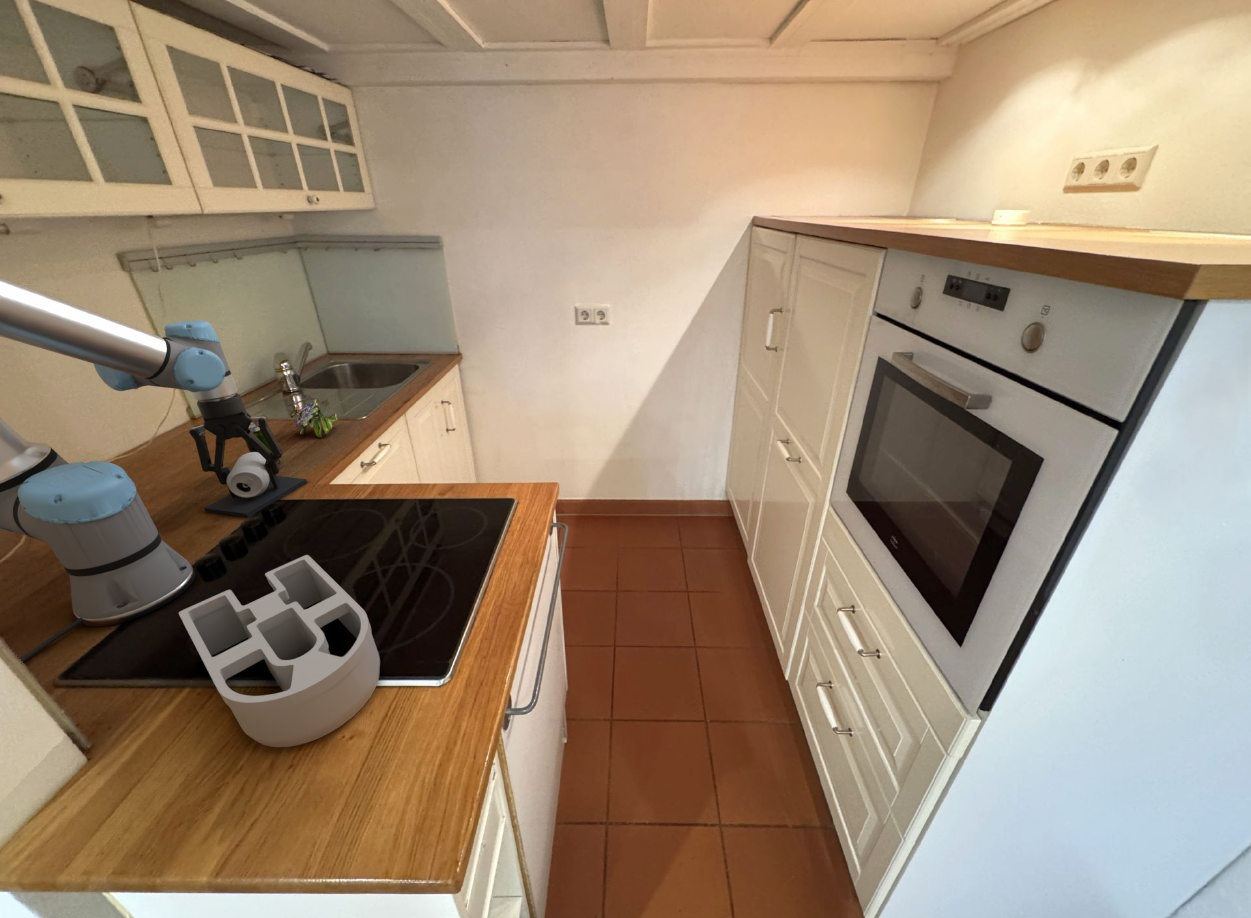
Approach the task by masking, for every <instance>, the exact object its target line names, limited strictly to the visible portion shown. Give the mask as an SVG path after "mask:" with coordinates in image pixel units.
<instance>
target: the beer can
mask: <svg viewBox="0 0 1251 918" xmlns="http://www.w3.org/2000/svg"><path fill="white" fill-rule="evenodd" d="M249 429H250V430H251V431H252V432H253V434H254V435H255V436H256V437H257V438H258V439H259V440H260V441H261V442H262V443H263V444H264V445H265V446H266V447H267V448H268V449H269V450H270V451H271V452H272V450H271V448H270V446H269V445H268V443H267V441H266V440H265V438H264V436H263V434H262V433H261V431H260V428H259V427H257V426H256V425H255V424H254V423H253V422H251V424H250V426H249ZM244 442H245V444H246V447H247V449H248V451H249V453H250V452H257V451H256V450H255V449H254V448H253V447H252V446H251V445H250V444H249V443H248V442H247V441H245V440H244ZM272 453H273V452H272ZM276 461H277V464H278V467H279V468H280V466H281V460H280V458H278V459H276Z"/></svg>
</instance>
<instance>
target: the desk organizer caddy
mask: <svg viewBox="0 0 1251 918" xmlns="http://www.w3.org/2000/svg"><path fill="white" fill-rule="evenodd" d="M264 576H265V577H266V580H267V582H268V584H269V585H270V587H271V588H272V590H273V591H272V592H270V593H268V594H266V595H264V596H262V597H260V598H257V599H256V600H254V601H252V602H249V603H247V604H245V605H242V604H241V602H240V601H239V600H238V598H237V596H236V595H235V593H234V592H233V590H231V589H227V590H225V591H222V592H220V593H218V594H216V595H214V596H211V597H209V598H207V599H205V600H202V601H200V602H198V603H195V604H194V605H191V606H189V607H186V608H184V609H182V610H180V611H179V612H178V615H179V617H180V619H181V621H182V623H183V625H184V627H185V629H186V631H187V633H188V635H189V636H190V637H189V638H190V639H191V641H192V642H193V645H194V646H195V648H196V651H197V652H198V654H199V656H200V658H201V661H202V662H203V664H204V666H205V668H206V670H207V672H208V674H209V676H210V678H211V680H212V682H213V684H214V685H215V688H216V690H217V691H218V693H219V695H220V697H221V699H222V700H223V701H224V703H225V704H226V705H227V706H228V707H229V709H230V710H231V712H232V714H233V716H234V717H235V719H236V721H237V723H238V725H239V726H240V728H241V730H242V731H243V732H244V733H245V735H247V736H248V737H249V738H251V739H252V740H254V741H255V742H257V743H259V744H261V745H263V746H267V747H271V748H290V747H295V746H296V747H297V746H300V745H304V744H307V743H310V742H313V741H315V740H316V741H317V740H318V739H321V738H323V737H325V736H326V735H329V734H330V733H332V732H335V730H337V729H339V728H341V726H343V725H344V724H346V723H347V722H348V721H349V720H351V719H352V718H353V717H354V716H355V715H357V714H358V713H359V711H360V710H362V709H363V707H364V706H365V705H366V704H367V702H368V701H369V700H370V698H371V697H372V695H373V694H374V692H375V690H376V688H377V686H378V682H379V680H380V667H381V659H380V653H379V651H378V648H377V645H376V642H375V639H374V636H373V633H372V631H373V630H372V627H371V623H370V620H369V618H368V615H367V613H366V611H365V610H364V608H362V606H360V604H359V603H357V602H356V600H355V599H354V598H352V596H350V595H349V594H348V593H347V592H346V590H345V589H343V588H342V586H340V585H339V584H338V583H337V582H336V581H335V580H334V579H333V578H332V577H331V576H330V575H329V574H328V573H327V572H326V571H325V570H324V569H323V568H322V567H321V566H320V565H319V564H318V563H317V562H316V561H315V560H314V558H312V557H311V556H310V555H309V554H305V555H303V556H301V557H298V558H296V559H293V560H291V561H289V562H287V563H285V564H283V565H280V566H278V567H276V568H274V569H271V570H269V571H267V572H265V574H264ZM310 606H311V607H310ZM308 607H309V608H308ZM337 619H338V620H339V622H340V623H341V624H342V625H343V626H344V627H345V628H346V629H347V630H348V631H349V632H350V633H351V635H352V636H353V637H354V638H355V639H356V640H355V642H354V643H353V645H352V646H351V648H350V649H349V650H348V651H347V652H346V653H345V654H344V655H343V656H338V655H334V654H331V652H330V650H329V647H330V646H329V643H328V641H327V638H326V636H325V632H324V631H323V630H322V629H321V628H323V627H324V626H326V625H328V624H330V623H332V622H333V621H335V620H337ZM242 641H243V642H242ZM236 644H237V645H236ZM234 645H235V646H234ZM232 646H233V647H232ZM228 648H229V649H228ZM226 649H227V650H226ZM224 650H225V651H224ZM222 651H223V652H222ZM220 652H221V653H220ZM218 653H219V654H218ZM262 660H264V662H265V665H266V666H267V669H268V671H269V673H270V674H271V676H272V677H273V679H274V680H275V682H276V683H277V685H278V686H279V688H280V690H282V691H280V692H276V693H272V694H264V695H249V694H248V695H247V694H242V693H238V692H236V691H234V690H232V689H231V688H230V687H229V686H228V685H227V682H226V681H227V680H228V679H230V678H231V677H233V676H234V675H237V674H238V673H241V672H242V671H244V670H246V669H247V668H249V667H252V666H253V665H255V664H257V663H258V662H261V661H262Z"/></svg>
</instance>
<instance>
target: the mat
mask: <svg viewBox="0 0 1251 918" xmlns="http://www.w3.org/2000/svg"><path fill="white" fill-rule="evenodd" d="M277 478H278V481H279V483H280V484H279V487H278V489H274V487H273V485H272V482H271V480H270V482H269V484H268V487H267V488H266V490H265V491H264V492H263V493H262V494H260V495H258V496H255V497H249V498H245V497H240V496H237V497H235V498H232V496H231V494H230V493H229V494H227V495H225V496H223V497H221V498H220V499H218V500H216V501H213V502H212V503H210V504H208V505H206V506H204V507H203V509H204V512H206V513H212V514H220V515H227V516H235V517H243V518H249V517H251V516H253V515H255V514H256V513H258V512H260V511H261V510H263V509H265V508H267V507H268V506H270V505H272V504H274V503H275V502H278V500H280V499H282V498H284V497H286V496H287V495H289V494H290V493H292V492H294V491H295V490H297V489H299V488H300V487H302V486H304V485H305V484H307V483H308V481H307V479H306V478H299V477H292V476H282V475H277Z"/></svg>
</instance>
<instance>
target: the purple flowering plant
mask: <svg viewBox="0 0 1251 918" xmlns="http://www.w3.org/2000/svg"><path fill="white" fill-rule="evenodd" d="M299 407H300V405H298V404H297V405H296V406H294V409H292V412H291V414H290V418H294V416H295V415H296V414H298V417H297V418H296V420H295V423H296V424H295V425H296V428H297V429H298V430H300V433H299V434H300V435H302V436H303V435H305V434H306V430H307V427H308V426H309V427H310V428H311V429H313V430H314V433H315V436H316V437H318V438H323V436H322V430H323V431H324V434H325V435H328V433H329V432H330V431H331V430H332V429H334V427H333V422H335V423H336V422H339V419H338V414H337V413H333V414H331V415H326V416H325V414H324V412H323V411H322V409H321V406H320V405H319V404H318V401H317V398H315V399H313V401H312V402H311V401H310V402H308V403H307V404H305V406H303V407H301V412H300V411H298V409H299ZM333 416H334V417H333Z"/></svg>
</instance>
